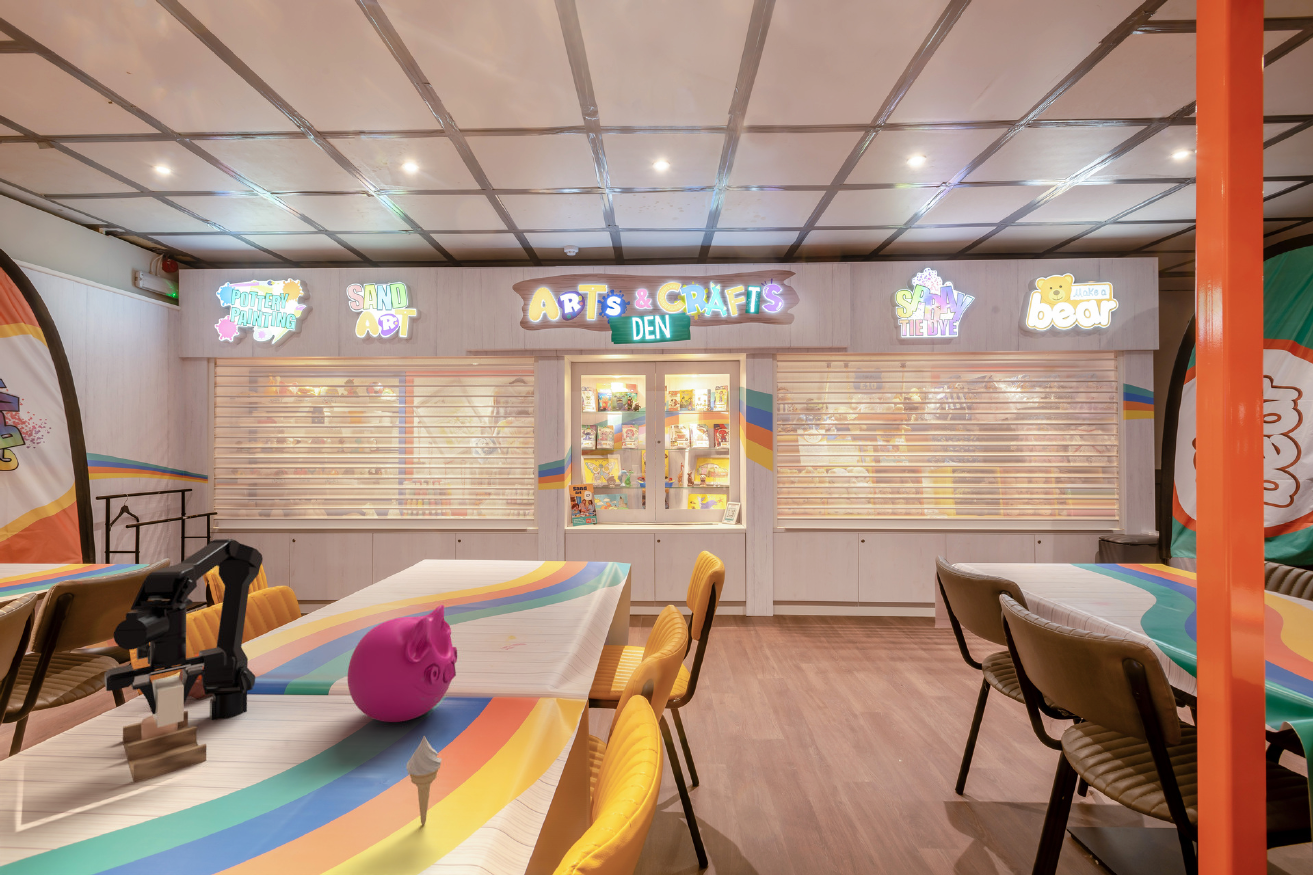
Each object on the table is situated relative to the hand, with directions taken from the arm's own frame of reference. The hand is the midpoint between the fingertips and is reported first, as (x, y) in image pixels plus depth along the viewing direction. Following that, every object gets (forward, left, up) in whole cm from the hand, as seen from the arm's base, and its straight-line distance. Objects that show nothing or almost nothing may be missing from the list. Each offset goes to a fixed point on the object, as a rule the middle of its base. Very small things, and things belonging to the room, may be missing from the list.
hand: (167, 709), depth 121 cm
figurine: (-42, +14, -11) cm, 46 cm away
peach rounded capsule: (0, -11, -10) cm, 15 cm away
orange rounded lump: (-11, -35, -11) cm, 39 cm away
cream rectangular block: (0, 0, -2) cm, 2 cm away
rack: (0, -5, -11) cm, 12 cm away
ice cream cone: (-27, +57, -11) cm, 64 cm away
